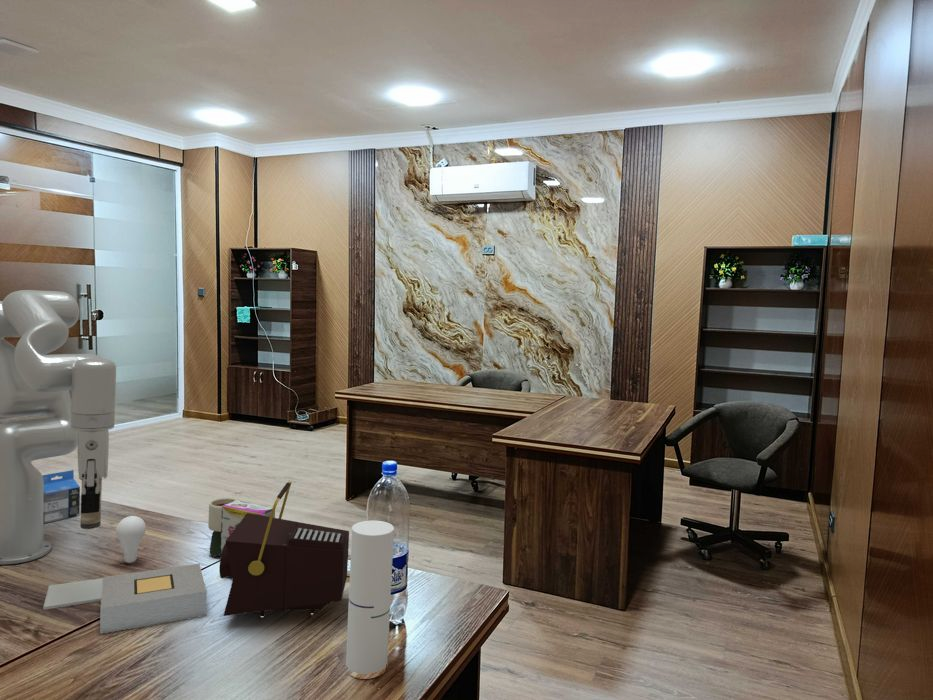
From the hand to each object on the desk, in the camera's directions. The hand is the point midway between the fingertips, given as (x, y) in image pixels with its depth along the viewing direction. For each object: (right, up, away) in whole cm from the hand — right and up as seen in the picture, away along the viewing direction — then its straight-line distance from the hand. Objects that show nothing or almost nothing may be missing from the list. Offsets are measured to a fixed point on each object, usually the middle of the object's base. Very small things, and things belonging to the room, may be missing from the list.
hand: (90, 508), depth 126 cm
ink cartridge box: (-35, -14, +43) cm, 57 cm away
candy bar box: (+27, -19, +14) cm, 36 cm away
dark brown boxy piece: (+40, -21, +1) cm, 45 cm away
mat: (-4, -18, +2) cm, 19 cm away
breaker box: (+14, -20, -2) cm, 24 cm away
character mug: (+17, -18, +26) cm, 36 cm away
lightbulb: (-2, -18, +18) cm, 25 cm away
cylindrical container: (+59, -23, -18) cm, 66 cm away
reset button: (+14, -18, -2) cm, 23 cm away
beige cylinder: (0, -4, 0) cm, 4 cm away
